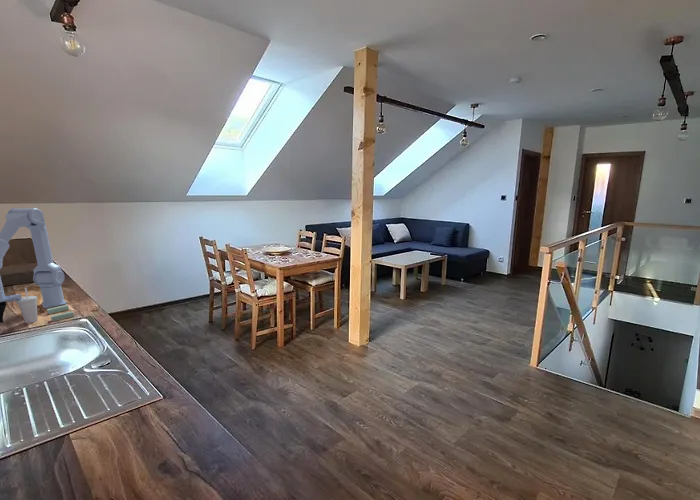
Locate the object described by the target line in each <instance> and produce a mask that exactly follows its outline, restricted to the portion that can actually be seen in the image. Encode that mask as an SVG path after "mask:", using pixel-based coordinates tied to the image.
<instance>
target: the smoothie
mask: <svg viewBox="0 0 700 500" xmlns="http://www.w3.org/2000/svg"><path fill="white" fill-rule="evenodd" d="M24 291H25V296H21V298H22V300H16V301H15V302H16V304H17V305H18V308H19V310H20V312H21V315H22V317H23V320H24V323H25V324H32V323H35V322H38V296H37V295H28V288H27V287H24Z"/></svg>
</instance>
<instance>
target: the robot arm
mask: <svg viewBox="0 0 700 500" xmlns="http://www.w3.org/2000/svg"><path fill="white" fill-rule="evenodd" d="M5 220H6V221H5V223H4V225H3V227H2V228H1V230H0V270H1V269H2V268H3V261H4V257H5V255H6V253H7V251H8V250H9V249H10V247H11V246H10V244H9V242H10V241H11V240H12V238H13V237H14V236H15V234H16V233H17V232H18V231H19V229H20V228H23V227H25V228H27V229H28V230H29V231H30V236H31V239H32V244H33V245H32V246H33V249H34V254H35V258H36V263H37V265H36V266H35V267H34V269H32V270H33V276H32V280H33V282H34V284H36V285H37V287H40V293H41V297H42V302H41V305H42V307H43V309H50V308H54V307H59V306H64V305H68V303H67V301H66V300H65V299H64V298H65V297H64V292H63V288H62V284H63V283H64V280H65V278H66V277H65V273H64V272H63V269H62V267H61V266H60V265H58V264H56V263H55V262H54V257H53V254H52V249H51V244H50V238H49V233H48V230H47V224H46V221H45V215H44V212H43V211H42V210H41V209H39V208H37V207H31V208H30V207H29V208H28V207H27V208H25V207H24V208H23V207H22V208H16V207H15V208H14V207H13V208H10V209H9V210H8V212H7V214H5ZM16 300H22V294H20V293H18V294H12V295H6V294H5V291H4V285H3V282H2V277H1V275H0V324H2V323H4V319H3V318H4V313H5V310H6V307H7V303H10V302H16Z"/></svg>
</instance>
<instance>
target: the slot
mask: <svg viewBox="0 0 700 500" xmlns="http://www.w3.org/2000/svg"><path fill="white" fill-rule="evenodd" d="M69 310H70V308H69V304H63V305H58V306H53V307H49V308H46V311H47V315H50V319H51V320H50V321H51V322H56V321H60V320H61V321H62V320H64V319H69V318H73V317H75V315H74V312H73V310H71V311H69ZM66 311H67V312H66ZM61 312H63V313H61ZM57 313H58V314H57ZM51 314H53V315H51Z"/></svg>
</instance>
